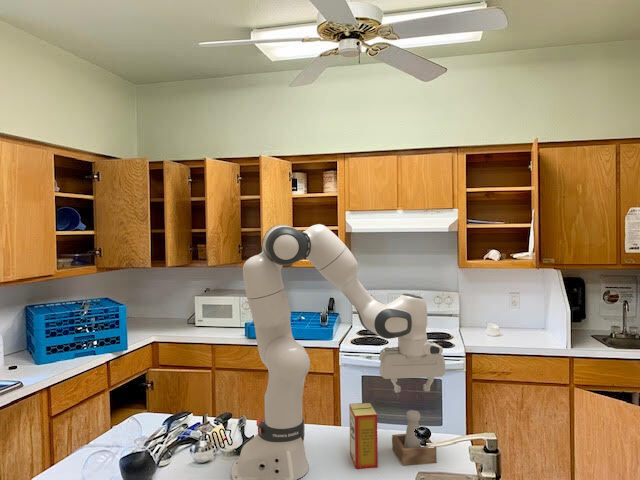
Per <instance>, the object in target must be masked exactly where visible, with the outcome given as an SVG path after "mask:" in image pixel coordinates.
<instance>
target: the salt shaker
mask: <svg viewBox="0 0 640 480" xmlns="http://www.w3.org/2000/svg"><path fill="white" fill-rule="evenodd" d="M405 418H406V420H407V426H406V431H405V434H406V436H405V442H404V447H405V448H413V447H421V446H420V439H418V438H417V437H416V436H415V432H414V431H415V429H416V430H417V428H420V424H419V421H420V420H421V413H420V412H419V411H418V410H415V409H414V410H413V409H411V410H408V411H407V412H406V415H405Z"/></svg>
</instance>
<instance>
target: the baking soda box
mask: <svg viewBox="0 0 640 480" xmlns="http://www.w3.org/2000/svg"><path fill="white" fill-rule="evenodd" d="M378 451H379V450H378V414H377V412H376V410H375V408H374V407H373V405H372V404H371V402H361V403H360V402H358V403H349V453H350V454H349V455H350V457H351V459H352V462H353V465H354V467H355V469H356V470H361V469H362V470H363V469H364V470H365V469H377V468H378V467H379V465H378V464H379V463H378V462H379V458H378V457H379V456H378V455H379V453H378Z"/></svg>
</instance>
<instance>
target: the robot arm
mask: <svg viewBox="0 0 640 480" xmlns="http://www.w3.org/2000/svg"><path fill="white" fill-rule="evenodd" d="M260 246H261V247H260V251H259V253H258V254H256V255H253V256H251V257H249V258H248V259H246V261H245V262H244V264H243V266H242V276H243V277H242V278H243V284H244V290H245V294H246V297H247V302H248V307H249V310H250V313H251V316H252V321H253V325H254V326H253V327H254V332H255V339H256V344H257V350H258V354H259V357H260V360H261V362H262V363H263V365H264V366H265V367H266V368H267V370H268V381H267V386H266V391H265V393H264V419H262V418H260V417H259V418H258V419H257V420H256V427H257V434H256V435H255V436H254V437H252V438H251V439H250V440H249V441H248V442H246V443H245V444H244V445H243V446H242V448H241V450H240V454H239V457H238V459H236V460H235V461H234V462H233V464H232V466H231V473H230V478H231V480H298V479H301V478H303V477H304V476H305V475H306V474H307V473H308V471H309V469H310V468H309V467H310V466H309V463H308V460H307V455H306V450H305V449H306V448H305V437H306V435H305V433H306V432H305V421H304V420H305V419H304V418H303V392H304V386H305V381H306V376H307V375H308V373H309V371H310V368H311V360H310V359H311V358H310V356H309V354H308V352H307V350H306V348H305V347H304V345H302V344H301V343H299V342H297V341H296V339H295V338H294V336H293V332H292V325H291V324H292V323H291V316H292V312H291V307H290V305H289V304H290V303H289V300H288V296H287V292H286V289H285V285H284V281H283V277H282V269H283V266H291V265H293V264H295V263H297V262H298V263H299V261H300V262H301V261H302V260H304V259H307V260H308V261H309V262H310V264H311V265H313V266H314V268H315V269H316V270H317V272H319V274H320V275H321V276H322V277H323V278H324V279H325V280H326V281H327V282H329V283H330V284H332V285H333V286H335V287H336V288H337V289H338V290H340V291H341V292H342V293H343V295H344V296H345V297H346V299H348V301H349V302H350V303H351V304H352V306H353V307H354V309H355V310H356V313H357V315H358V320H359V322H360V324H361V326H362V327H363V328H364V329H365V330H366V331H369V332H372V333H374V334H375V335H376V336H379V337H380V338H383V339H388V340H389V339H390V340H391V339H396V338H397V346H393V347H388V346H387V347H384V348H383V349H381V350H380V351H379V360H380V363H379V375H380V376H381V377H382V378H383V379H385V380H389V379H390V382H392V385H393V386H394V387H393V389H394V392H395V394H396V393H397V394H398V393H401V390H402V389H401V386H400V385H398V384H397V382H398V379H417V378H418V379H419V378H426V379H427V381H426V382H425V383H424V384H423V391H424V392H430V391H431V385H432V384H433V383H434V380H435V379H434V378H438V377H439V378H440V377H443V376H445V374H446V361H445V357H444V355H443V351H444V350H443V347H442V346H441V345H440V344H438V343H435V342H433V341H429V340H428V335H427V328H428V327H427V326H428V308H427V307H428V306H427V302H426V300H425V299H424V297H422V296H420V295H415V294H410V293H401V294H400V295H399V297H397V298H396V299H394V300H393V301H391V302H389V303H384V302H382V301H379V300H377V299H375V298H374V297H372V296H371V295H370V293H369V292H368V291H367V289H366V288H365V287H364V285H363V284H362V283H361V281H360V280H359V278H358V276H357V275H358V274H357V273H358V271H359V269H358V268H359V264H358V261H357V260H356V257H355V256H354V254H353V253H352V252H351V250H350V249H349V248H348V247H347V245H346V244H345V243H344V242H343V241H342V240H341V238H340V237H338V235H336V233H334V232H333V231H332V230H331V229H329V228H328V227H327V226H326V225H325V224H321V223H318V224H313V225H311V226H309V227H307V228H306V229H305V230H304V231H301V230H299V229H296V228H294V227H293V226H290V225H288V224H276V225H273V226H272V227H270V228H269V229H268V230H266V232H265V234H264V236H263V239H262V243H261V245H260Z"/></svg>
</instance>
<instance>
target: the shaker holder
mask: <svg viewBox="0 0 640 480" xmlns="http://www.w3.org/2000/svg"><path fill="white" fill-rule="evenodd" d="M405 436H406V433H399V434H398V433H397V434H392V435H391V441H392V442H391V443H392V444H391V447H392V450H393V451H392V452H393V453H394V454H395V455H396V458H398V460H399V462H400V463H401V465H402V466H403V467H404V466H405V467H406V466H414V465H415V466H417V465H425V464H426V465H428V464H437V447H436V446H435V447H434V448H428V447H413V448H405V447H404V442H405ZM426 443H433V442H432V441H431V439H427V440H426Z"/></svg>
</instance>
